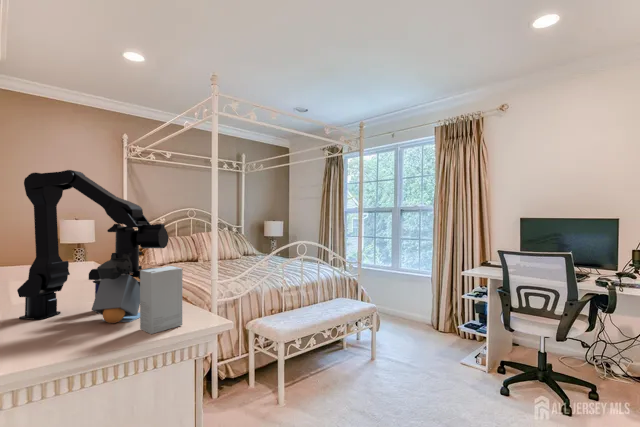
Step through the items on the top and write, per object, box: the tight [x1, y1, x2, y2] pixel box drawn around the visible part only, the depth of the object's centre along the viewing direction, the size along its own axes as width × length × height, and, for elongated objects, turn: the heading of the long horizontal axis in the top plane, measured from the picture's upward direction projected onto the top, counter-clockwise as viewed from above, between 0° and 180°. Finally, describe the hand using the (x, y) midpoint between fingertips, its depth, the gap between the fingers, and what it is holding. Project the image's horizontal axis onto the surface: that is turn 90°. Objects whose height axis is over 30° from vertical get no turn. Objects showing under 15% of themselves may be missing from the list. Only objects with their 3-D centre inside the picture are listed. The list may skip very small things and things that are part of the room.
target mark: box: [101, 312, 140, 323], centre depth 91 cm, size 8×8×1 cm
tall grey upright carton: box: [139, 265, 183, 335], centre depth 82 cm, size 8×6×15 cm
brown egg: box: [102, 308, 125, 324], centre depth 86 cm, size 5×5×5 cm
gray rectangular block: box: [91, 275, 140, 317], centre depth 89 cm, size 8×8×9 cm
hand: (126, 305), depth 91 cm, fingers open, 9 cm apart
